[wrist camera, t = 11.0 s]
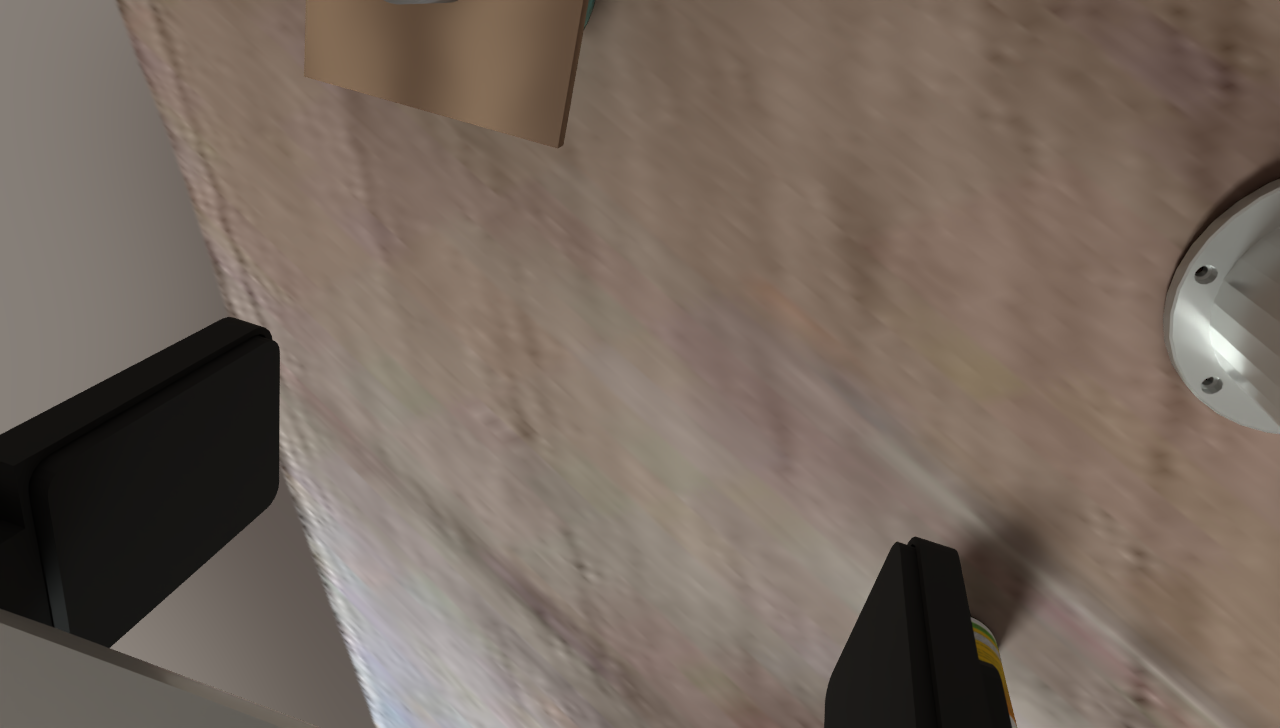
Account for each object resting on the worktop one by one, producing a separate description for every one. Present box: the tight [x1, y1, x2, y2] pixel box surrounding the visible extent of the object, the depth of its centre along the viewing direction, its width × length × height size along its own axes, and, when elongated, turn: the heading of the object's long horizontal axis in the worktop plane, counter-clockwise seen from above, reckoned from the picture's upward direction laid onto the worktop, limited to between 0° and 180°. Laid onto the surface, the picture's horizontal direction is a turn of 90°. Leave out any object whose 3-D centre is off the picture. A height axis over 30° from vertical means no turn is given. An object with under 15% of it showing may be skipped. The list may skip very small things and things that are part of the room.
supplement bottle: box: [971, 617, 1017, 728], centre depth 43 cm, size 5×5×10 cm
